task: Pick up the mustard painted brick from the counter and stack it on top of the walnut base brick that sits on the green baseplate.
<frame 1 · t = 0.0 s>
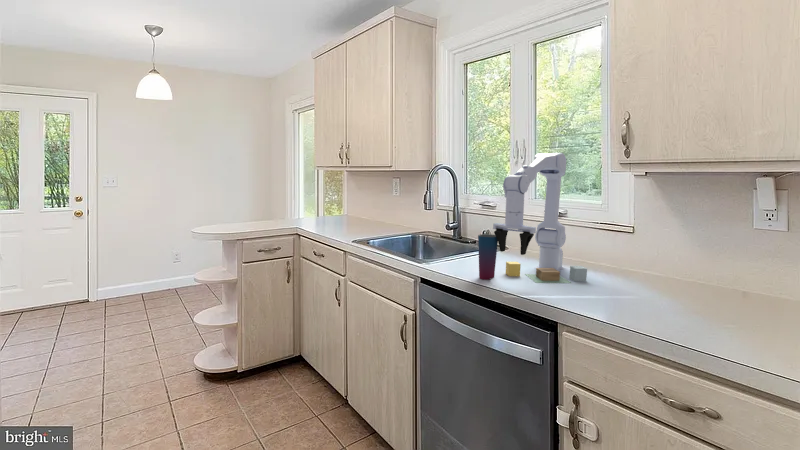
hand: (512, 252, 140), 10 cm above the counter, fingers open, 7 cm apart
base brick: (547, 278, 145), point 1 cm above the counter, touching baseplate
mustard brick: (512, 276, 150), on the counter
baseplate: (547, 280, 145), on the counter
cup: (486, 278, 147), on the counter, touching gripper
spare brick: (577, 281, 144), on the counter
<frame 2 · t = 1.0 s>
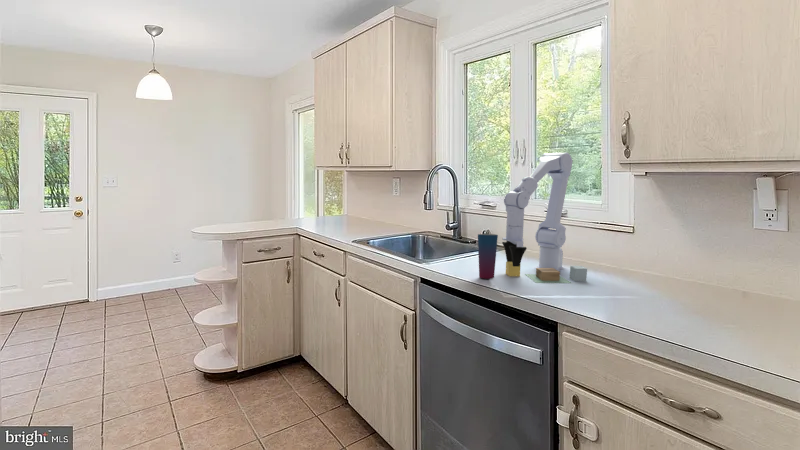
hand: (513, 263, 149), 5 cm above the counter, fingers open, 7 cm apart
cup: (486, 278, 147), on the counter
everything else where it was.
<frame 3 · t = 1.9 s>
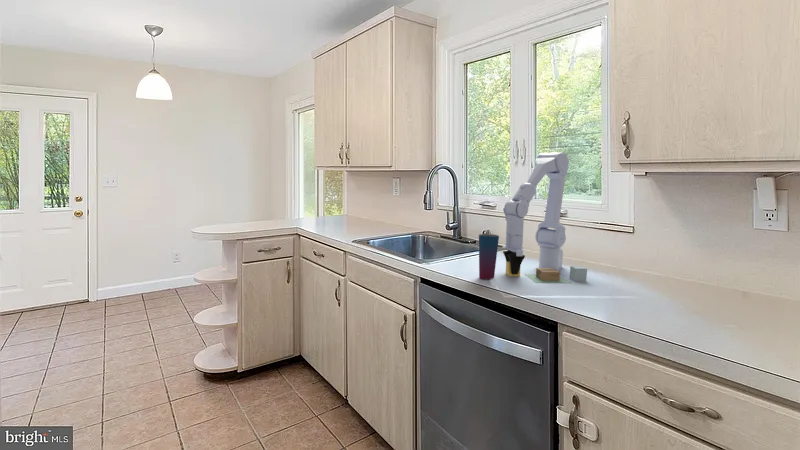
hand: (512, 272, 150), 1 cm above the counter, fingers closed on mustard brick, 4 cm apart
mustard brick: (512, 276, 150), on the counter, touching gripper
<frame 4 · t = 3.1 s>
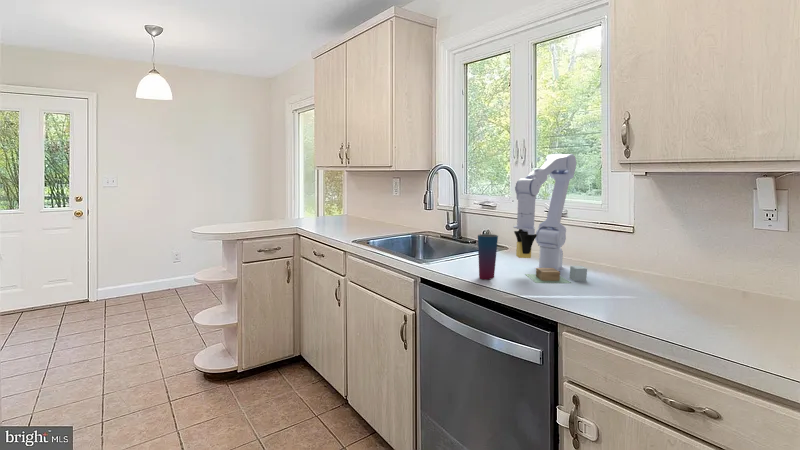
hand: (524, 252, 148), 9 cm above the counter, fingers closed on mustard brick, 4 cm apart
mustard brick: (523, 256, 148), point 7 cm above the counter, touching gripper
everything else where it was.
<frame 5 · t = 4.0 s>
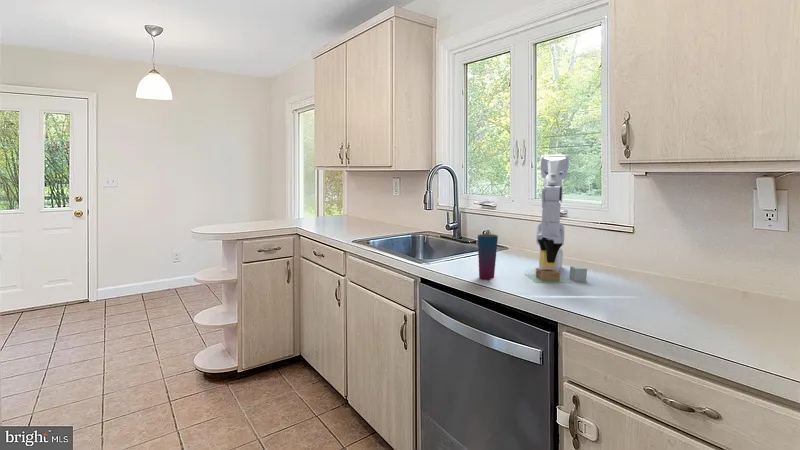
hand: (548, 261, 144), 7 cm above the counter, fingers closed on mustard brick, 4 cm apart
mustard brick: (547, 265, 145), point 5 cm above the counter, touching gripper
everything else where it was.
when the fingers open (6 cm above the counter, at t = 4.5 s): mustard brick stays where it is, resting on base brick.
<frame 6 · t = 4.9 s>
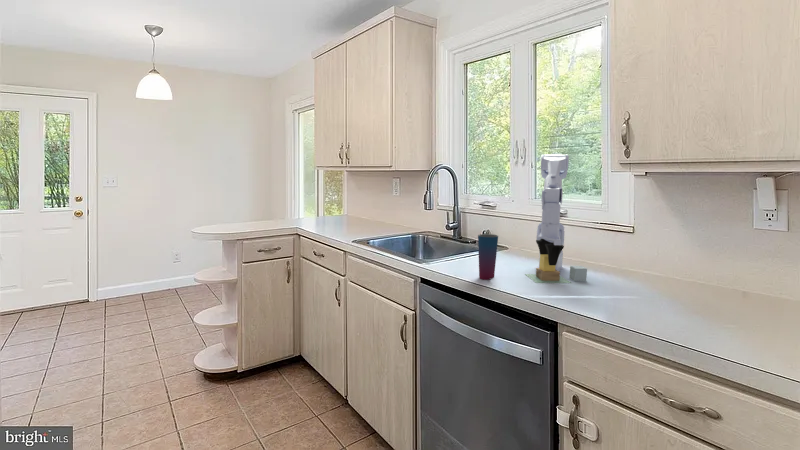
hand: (548, 262, 145), 6 cm above the counter, fingers open, 7 cm apart
base brick: (547, 278, 145), point 1 cm above the counter, touching baseplate, mustard brick
mustard brick: (547, 269, 145), point 4 cm above the counter, touching base brick
everything else where it was.
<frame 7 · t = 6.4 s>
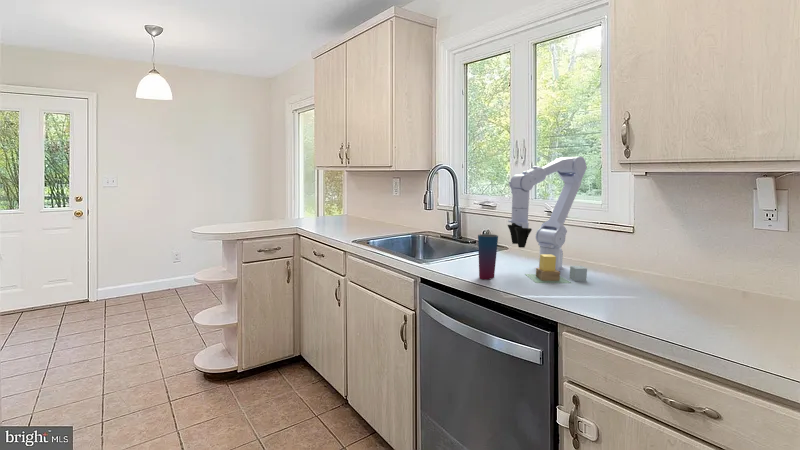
hand: (518, 245, 153), 10 cm above the counter, fingers open, 7 cm apart
nothing on the counter moved.
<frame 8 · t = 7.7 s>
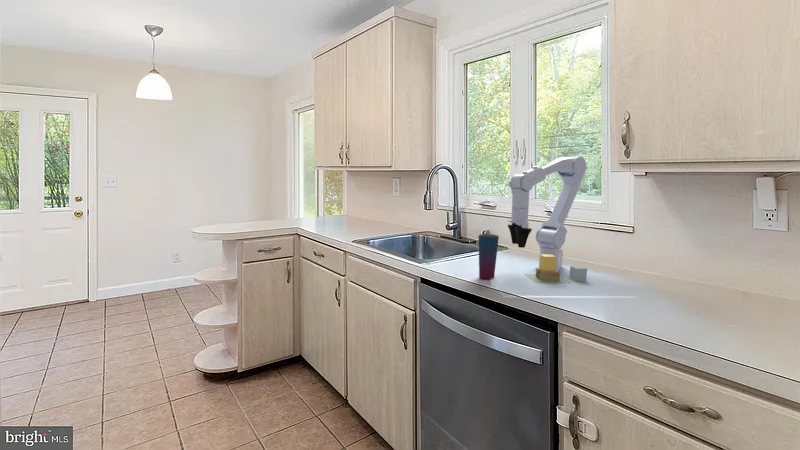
hand: (518, 245, 153), 10 cm above the counter, fingers open, 7 cm apart
nothing on the counter moved.
at the end: mustard brick 0.3 cm off-centre on the base brick, point 3.0 cm above the base brick's base; mustard brick tilted 0°; the gripper is holding nothing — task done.
